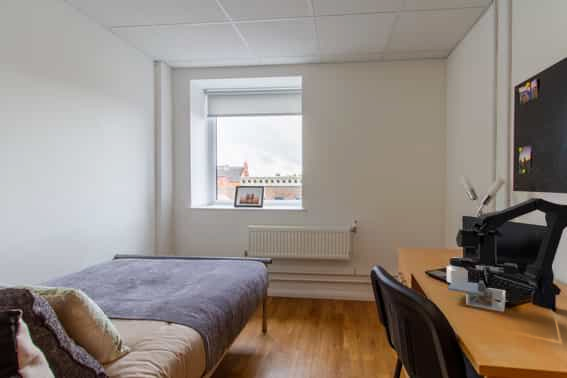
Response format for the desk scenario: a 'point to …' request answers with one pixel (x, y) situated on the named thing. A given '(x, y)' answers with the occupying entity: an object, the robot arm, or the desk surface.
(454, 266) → the medicine bottle
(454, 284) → the slate lid
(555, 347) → the desk surface
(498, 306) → the box
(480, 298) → the letter cube
